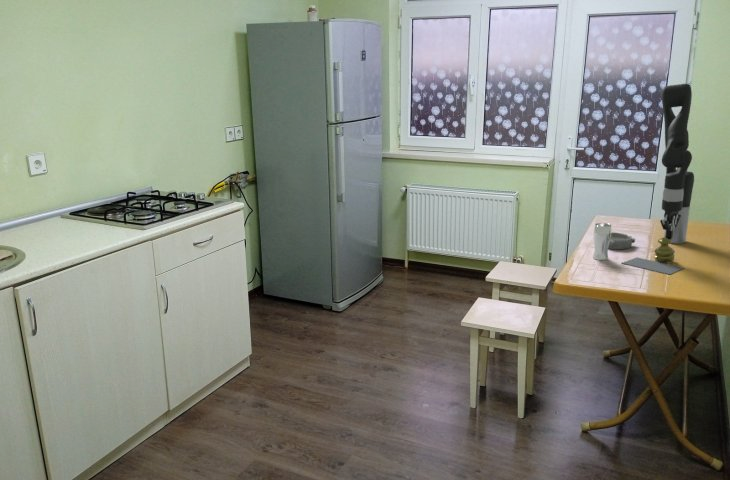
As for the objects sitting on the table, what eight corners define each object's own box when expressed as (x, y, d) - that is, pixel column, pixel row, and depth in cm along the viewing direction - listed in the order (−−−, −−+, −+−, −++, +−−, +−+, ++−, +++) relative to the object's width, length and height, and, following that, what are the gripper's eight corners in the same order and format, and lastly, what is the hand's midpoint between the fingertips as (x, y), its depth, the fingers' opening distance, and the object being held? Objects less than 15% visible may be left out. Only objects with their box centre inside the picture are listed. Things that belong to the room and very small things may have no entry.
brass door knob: (666, 265, 243) (666, 242, 239) (650, 260, 249) (650, 238, 246) (678, 259, 245) (678, 237, 242) (662, 255, 252) (663, 233, 248)
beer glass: (596, 255, 259) (598, 222, 255) (611, 258, 254) (614, 224, 250) (589, 258, 254) (591, 224, 250) (604, 261, 249) (607, 227, 245)
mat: (636, 258, 253) (636, 257, 253) (684, 268, 237) (684, 267, 237) (621, 263, 246) (621, 262, 246) (669, 274, 230) (669, 274, 230)
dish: (613, 251, 264) (614, 240, 262) (593, 244, 277) (594, 233, 275) (640, 248, 267) (641, 237, 266) (619, 241, 280) (620, 230, 279)
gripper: (671, 194, 247) (667, 233, 253) (655, 200, 240) (651, 240, 245) (689, 196, 242) (685, 236, 247) (673, 203, 234) (669, 244, 240)
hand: (668, 238), depth 246 cm, fingers closed
